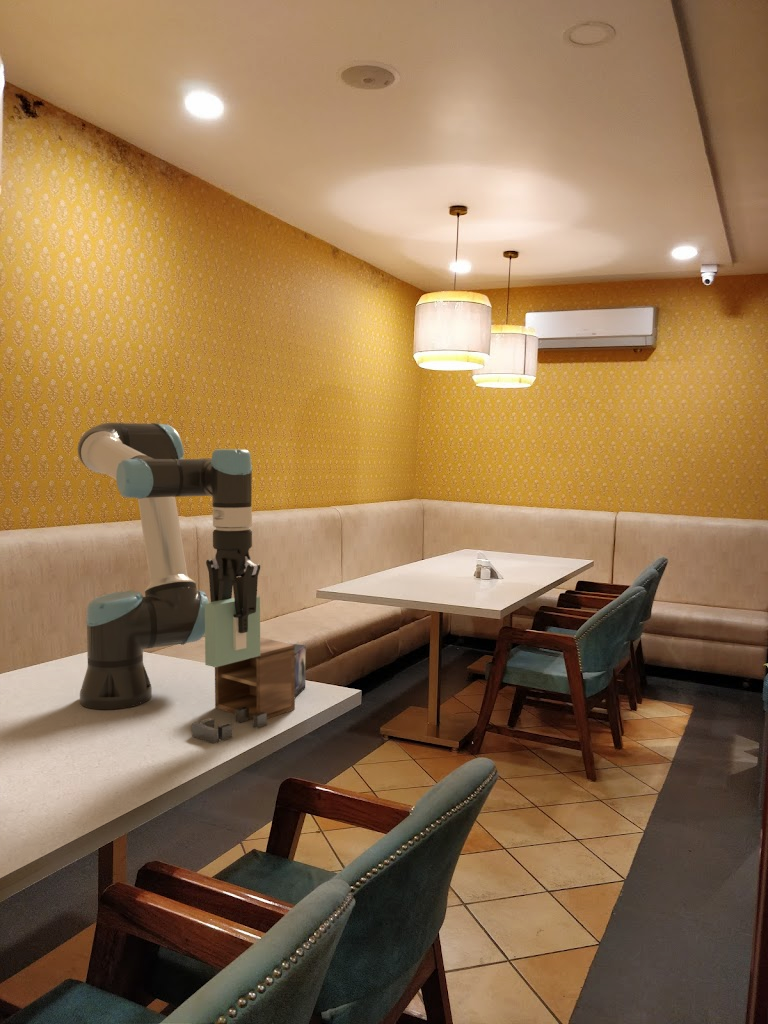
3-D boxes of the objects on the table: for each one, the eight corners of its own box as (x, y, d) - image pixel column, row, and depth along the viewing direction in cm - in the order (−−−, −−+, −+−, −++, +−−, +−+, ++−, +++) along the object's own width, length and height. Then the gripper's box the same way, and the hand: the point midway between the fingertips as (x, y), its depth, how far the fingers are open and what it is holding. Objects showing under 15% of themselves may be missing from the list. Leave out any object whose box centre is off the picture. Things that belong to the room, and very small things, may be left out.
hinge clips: (192, 736, 157) (192, 723, 157) (245, 718, 167) (245, 706, 167) (213, 743, 153) (213, 730, 153) (266, 725, 163) (266, 712, 163)
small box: (293, 701, 179) (292, 654, 178) (265, 699, 180) (264, 653, 180) (307, 688, 189) (307, 643, 189) (280, 686, 191) (280, 642, 190)
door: (205, 664, 156) (204, 603, 155) (250, 653, 165) (249, 595, 164) (215, 667, 154) (214, 605, 153) (260, 655, 163) (259, 596, 162)
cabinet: (215, 707, 174) (214, 643, 173) (250, 696, 182) (249, 635, 181) (260, 721, 166) (259, 653, 165) (294, 709, 173) (294, 644, 172)
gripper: (190, 527, 160) (192, 644, 162) (245, 532, 150) (247, 657, 152) (220, 524, 166) (221, 638, 168) (275, 529, 156) (276, 650, 158)
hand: (233, 647), depth 160 cm, fingers closed on door, 3 cm apart
